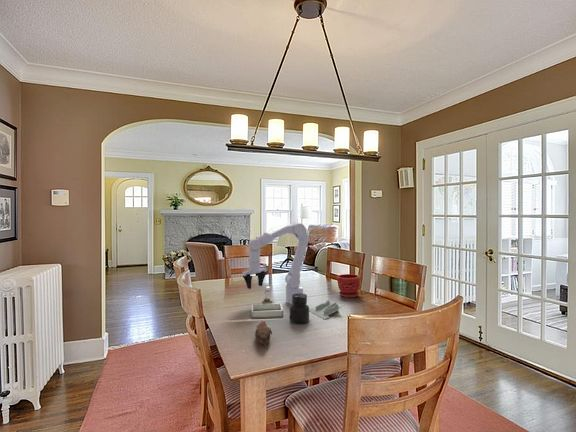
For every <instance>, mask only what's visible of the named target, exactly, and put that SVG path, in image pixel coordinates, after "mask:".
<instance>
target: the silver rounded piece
mask: <svg viewBox="0 0 576 432" xmlns="http://www.w3.org/2000/svg"><path fill="white" fill-rule="evenodd" d="M271 290H272V287H271V286H267V285H266V286H263V300H262V301H263V304H271V300H272V299H271V297H272V296H271V295H272V291H271Z"/></svg>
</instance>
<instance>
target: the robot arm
mask: <svg viewBox="0 0 576 432" xmlns="http://www.w3.org/2000/svg"><path fill="white" fill-rule="evenodd" d="M286 234H292V235H294V236H295V237H296V239H297V240H298V242H297V246H296V250H295V254H294V257H293V260H292V264H291V267H290V269H289V271H288V273H287V274H286V275H285V277H284V278H285V279H284V281H285V284H286V285H285V302H286V303H287V304H291V305H292V304H293V303H292V295H293V294H296V293H302V294H304V288H303V286H300V285H301V280H300V279H301V278H300V277H301V269H302V265H303V261H304V258H305V254H306V252H307V249H308V244H309V237H308V236H309V235H308V229H307V228H306V226H305V225H304V224H303V223H300V222H293V223H291V224H287V225H286V226H283V227H280V228H278V230H276V231H274V232H272V233H271V232H263V234H262V235H259V236H255V238H253V239H250V240H249V242H248V244H247V246H248V248H249V249H248V263H249V264H248V268H249V269H247V270H244V271H242V277H243V279H244V281H245V284H246V287H247V289H248V290H251V289H252V279H253V276H252V275H254V274H255V275H257V279H258V280H257V281H258V282H257V283H258V286H259V287H262V286H263V283H264V279H265V277H266V276H267V268H266V267H261V253H260V249H261V248H263V247H265V246H267V245H269V244H271V243H273V241H274V240H275V239H276V238H279V237H281V236H283V235H286Z"/></svg>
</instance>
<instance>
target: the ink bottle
mask: <svg viewBox="0 0 576 432" xmlns="http://www.w3.org/2000/svg"><path fill="white" fill-rule="evenodd" d="M307 302H308V295H307V294H305V293H303V294H302V293H296V294H293V295H292V303H293V304H291V305H290V307H289V322H290V323H292V324H297V325H302V324H303V325H304V324H307V323H309V322H310V312H309V309H310V306H309V305H308V303H307Z"/></svg>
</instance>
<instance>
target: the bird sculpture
mask: <svg viewBox="0 0 576 432" xmlns="http://www.w3.org/2000/svg"><path fill="white" fill-rule="evenodd" d="M254 335H255V338H256V340H257V342H258V343H260V344H262V345H264V347H265V348H267V343H269V341H270V340H271V335H273V332H272V329H271V328H270V327H268V325H267V324H266V321H263V320H262V321H261V322H260V323H259V324H258V325H256V329H255V333H254Z"/></svg>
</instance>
